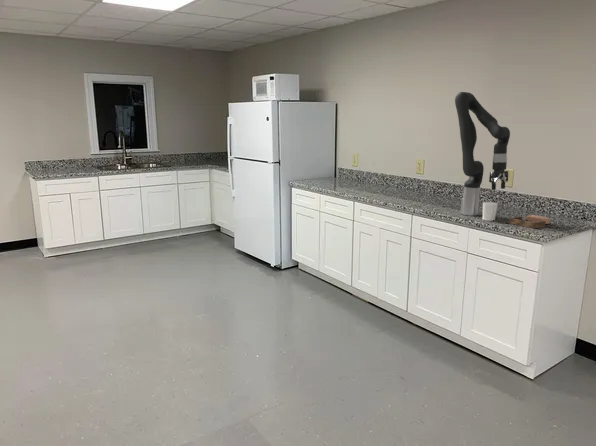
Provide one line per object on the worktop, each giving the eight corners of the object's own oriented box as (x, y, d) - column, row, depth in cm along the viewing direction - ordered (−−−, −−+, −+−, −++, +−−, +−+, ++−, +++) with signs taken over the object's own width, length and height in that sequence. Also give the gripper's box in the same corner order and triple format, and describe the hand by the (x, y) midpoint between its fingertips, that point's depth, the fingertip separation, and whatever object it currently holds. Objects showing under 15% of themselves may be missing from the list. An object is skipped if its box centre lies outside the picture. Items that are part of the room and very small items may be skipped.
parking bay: (509, 223, 264) (509, 218, 263) (520, 221, 269) (520, 216, 268) (533, 228, 251) (534, 223, 251) (545, 226, 257) (545, 221, 256)
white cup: (492, 218, 277) (493, 201, 275) (498, 221, 270) (499, 204, 267) (479, 218, 277) (480, 201, 275) (484, 221, 269) (486, 204, 267)
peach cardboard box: (525, 222, 267) (525, 216, 267) (532, 220, 271) (533, 215, 270) (541, 225, 259) (542, 219, 258) (549, 224, 263) (549, 218, 262)
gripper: (501, 160, 276) (500, 187, 279) (486, 161, 269) (484, 189, 272) (513, 161, 270) (511, 188, 273) (497, 162, 263) (496, 190, 265)
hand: (498, 189), depth 272 cm, fingers open, 8 cm apart
